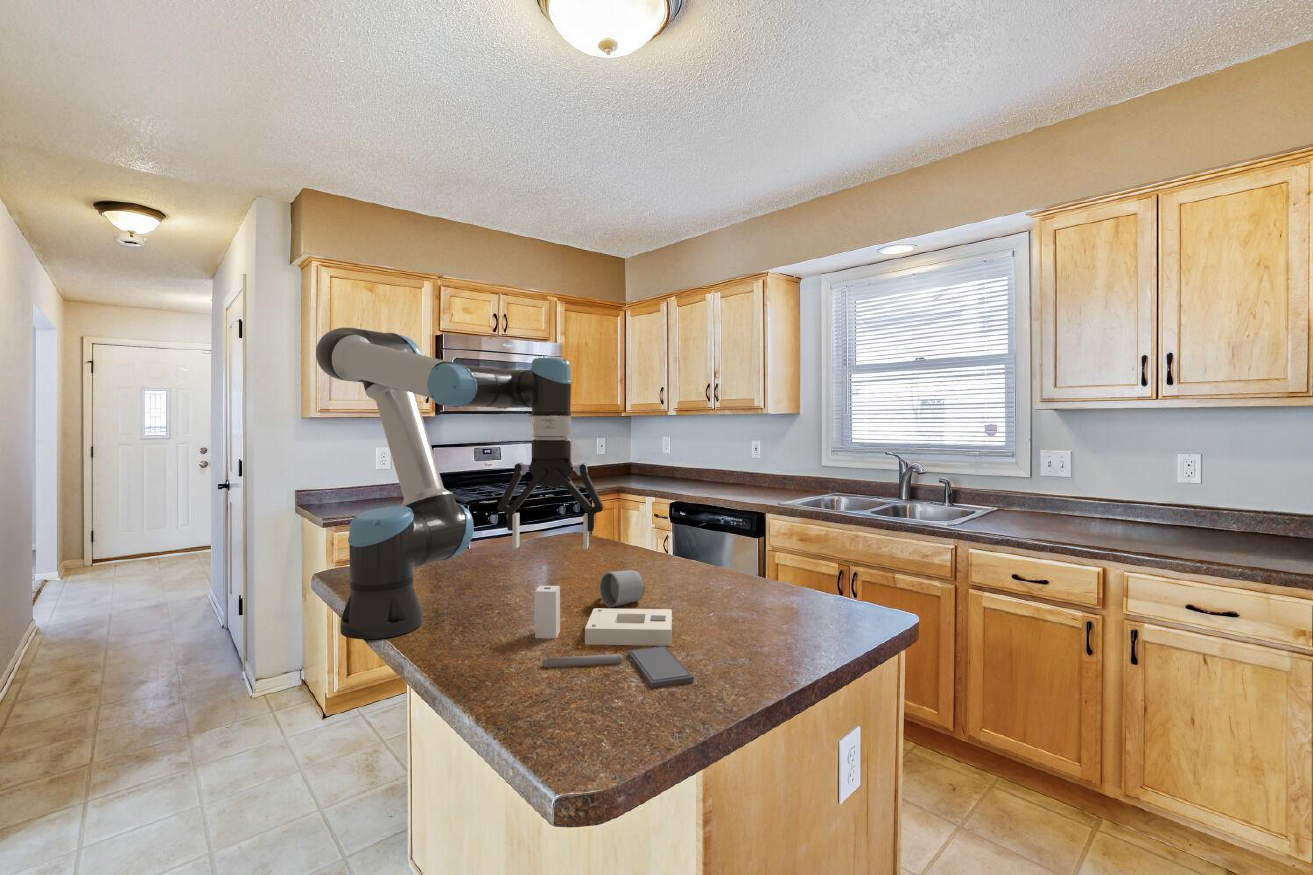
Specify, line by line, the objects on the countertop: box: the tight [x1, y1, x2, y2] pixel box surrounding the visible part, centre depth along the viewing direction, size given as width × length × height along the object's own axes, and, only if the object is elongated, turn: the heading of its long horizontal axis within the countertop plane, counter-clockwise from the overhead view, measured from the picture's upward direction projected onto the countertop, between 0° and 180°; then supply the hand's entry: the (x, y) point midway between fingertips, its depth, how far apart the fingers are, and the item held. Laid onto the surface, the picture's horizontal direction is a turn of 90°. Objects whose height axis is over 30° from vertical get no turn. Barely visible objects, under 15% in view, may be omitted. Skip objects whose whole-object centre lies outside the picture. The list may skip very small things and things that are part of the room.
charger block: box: [534, 585, 561, 639], centre depth 118 cm, size 4×4×9 cm
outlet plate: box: [584, 607, 673, 647], centre depth 119 cm, size 16×12×3 cm
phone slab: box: [627, 646, 695, 689], centre depth 103 cm, size 7×14×1 cm, turn 18°
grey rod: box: [542, 653, 624, 669], centre depth 104 cm, size 14×2×2 cm, turn 98°
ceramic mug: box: [599, 569, 646, 608], centre depth 140 cm, size 11×8×8 cm
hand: (550, 547), depth 119 cm, fingers open, 13 cm apart
